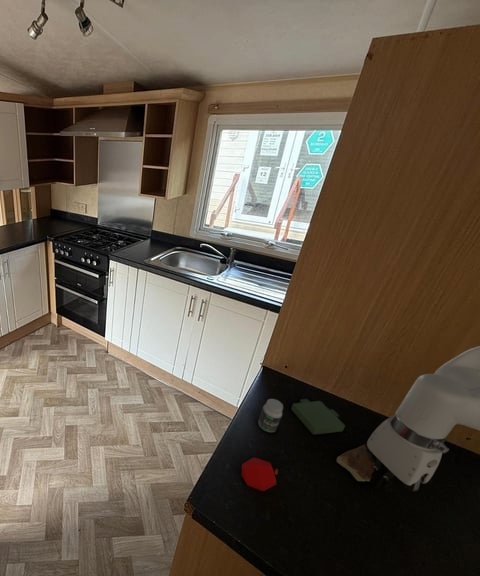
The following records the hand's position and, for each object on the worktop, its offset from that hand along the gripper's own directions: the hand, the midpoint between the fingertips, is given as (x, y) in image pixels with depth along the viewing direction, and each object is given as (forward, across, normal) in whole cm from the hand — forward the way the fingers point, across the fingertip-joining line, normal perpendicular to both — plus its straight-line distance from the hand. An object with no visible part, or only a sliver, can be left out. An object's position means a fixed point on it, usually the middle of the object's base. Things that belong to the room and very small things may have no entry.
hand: (377, 484), depth 72 cm
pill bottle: (+2, +20, +14) cm, 24 cm away
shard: (+2, +6, -1) cm, 7 cm away
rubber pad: (+2, +19, -1) cm, 20 cm away
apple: (+2, +5, +27) cm, 27 cm away
